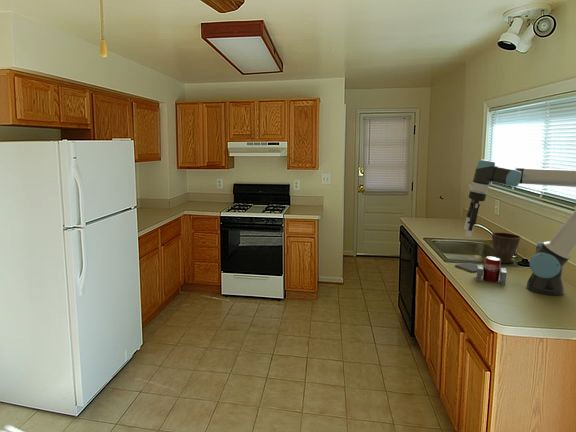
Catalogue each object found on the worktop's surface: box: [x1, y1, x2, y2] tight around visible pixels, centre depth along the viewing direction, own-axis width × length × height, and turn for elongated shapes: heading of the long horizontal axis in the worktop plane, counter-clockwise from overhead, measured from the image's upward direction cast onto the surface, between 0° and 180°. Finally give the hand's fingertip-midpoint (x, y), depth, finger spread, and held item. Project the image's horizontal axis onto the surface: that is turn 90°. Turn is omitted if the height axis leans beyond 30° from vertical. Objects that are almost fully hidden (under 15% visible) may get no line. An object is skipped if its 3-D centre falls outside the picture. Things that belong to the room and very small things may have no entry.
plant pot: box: [491, 232, 521, 264], centre depth 244 cm, size 15×15×16 cm
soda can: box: [482, 255, 502, 284], centre depth 208 cm, size 7×7×12 cm
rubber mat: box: [454, 262, 484, 274], centre depth 229 cm, size 12×12×1 cm
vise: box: [476, 264, 508, 286], centre depth 208 cm, size 8×13×6 cm, turn 65°
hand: (467, 233), depth 204 cm, fingers open, 13 cm apart
